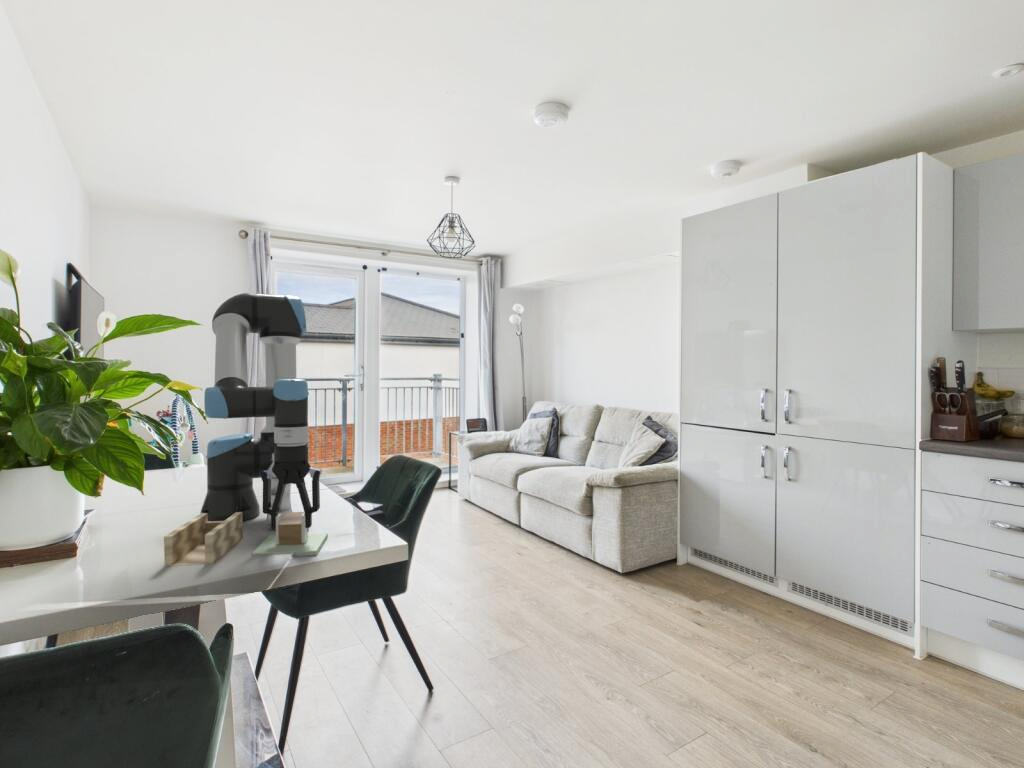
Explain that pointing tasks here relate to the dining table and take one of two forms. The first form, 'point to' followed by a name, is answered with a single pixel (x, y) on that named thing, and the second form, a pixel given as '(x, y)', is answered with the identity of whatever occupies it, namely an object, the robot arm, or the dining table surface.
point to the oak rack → (202, 540)
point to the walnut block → (291, 529)
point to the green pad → (292, 546)
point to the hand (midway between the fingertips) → (291, 541)
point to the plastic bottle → (286, 499)
